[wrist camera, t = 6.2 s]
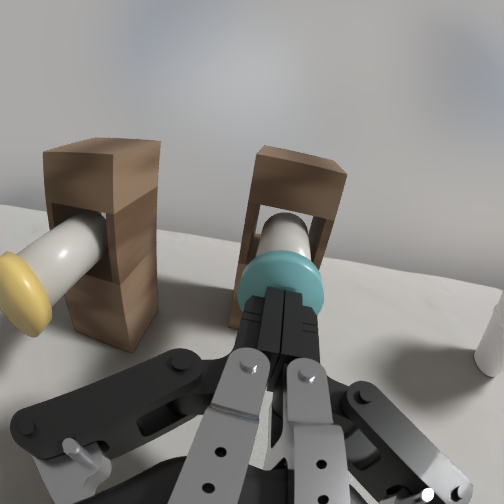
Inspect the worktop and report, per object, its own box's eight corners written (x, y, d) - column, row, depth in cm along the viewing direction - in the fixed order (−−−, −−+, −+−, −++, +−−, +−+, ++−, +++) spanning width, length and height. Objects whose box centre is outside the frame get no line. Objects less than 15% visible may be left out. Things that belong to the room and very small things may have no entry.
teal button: (232, 321, 13) (243, 253, 11) (251, 253, 19) (261, 201, 17) (309, 336, 13) (335, 272, 11) (305, 264, 19) (320, 213, 17)
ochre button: (4, 319, 9) (-21, 254, 7) (74, 254, 15) (67, 198, 13) (50, 349, 9) (21, 277, 7) (120, 267, 15) (116, 207, 13)
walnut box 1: (75, 329, 17) (42, 151, 11) (106, 293, 21) (95, 137, 15) (132, 353, 17) (113, 154, 10) (158, 309, 21) (160, 141, 15)
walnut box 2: (228, 327, 21) (256, 153, 15) (238, 290, 25) (264, 145, 19) (293, 340, 21) (347, 174, 14) (294, 301, 25) (334, 160, 19)
